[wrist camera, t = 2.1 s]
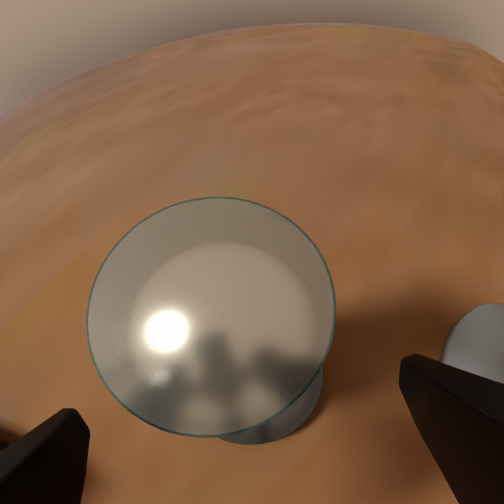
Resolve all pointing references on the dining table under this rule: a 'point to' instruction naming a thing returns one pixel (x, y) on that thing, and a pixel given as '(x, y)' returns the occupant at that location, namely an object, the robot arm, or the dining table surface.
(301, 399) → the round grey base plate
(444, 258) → the dining table surface
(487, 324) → the coaster
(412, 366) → the robot arm
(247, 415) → the drinking glass
